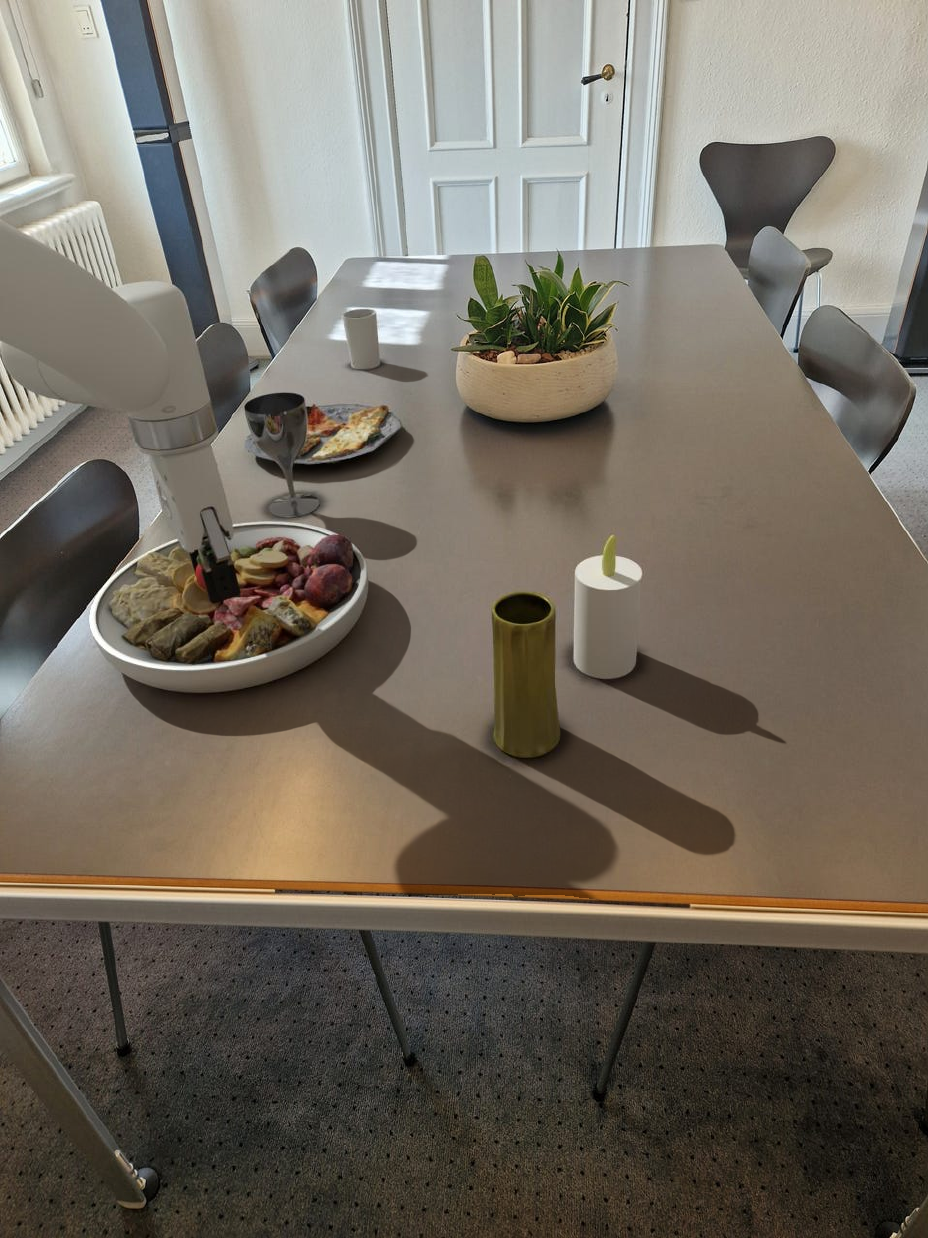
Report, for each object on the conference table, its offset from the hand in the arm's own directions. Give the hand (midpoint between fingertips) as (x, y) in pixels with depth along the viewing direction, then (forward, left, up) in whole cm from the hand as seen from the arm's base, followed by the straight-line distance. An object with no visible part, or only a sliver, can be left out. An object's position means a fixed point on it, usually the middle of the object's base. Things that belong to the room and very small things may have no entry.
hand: (219, 587), depth 90 cm
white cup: (+53, +77, -7) cm, 94 cm away
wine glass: (+18, +27, -7) cm, 33 cm away
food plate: (+30, +45, -7) cm, 54 cm away
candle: (+31, -26, -7) cm, 41 cm away
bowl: (+2, +3, -7) cm, 8 cm away
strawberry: (0, 0, -1) cm, 1 cm away
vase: (+18, -31, -7) cm, 37 cm away
